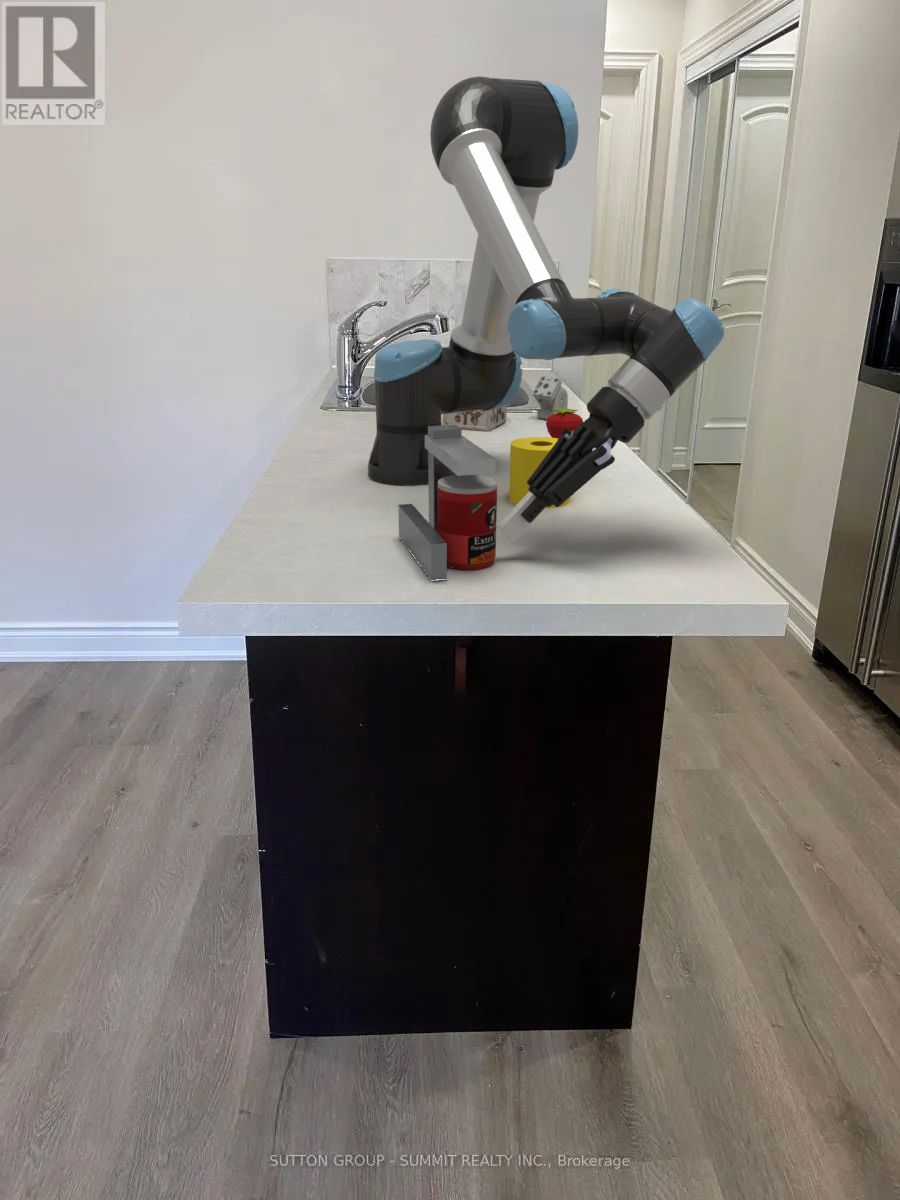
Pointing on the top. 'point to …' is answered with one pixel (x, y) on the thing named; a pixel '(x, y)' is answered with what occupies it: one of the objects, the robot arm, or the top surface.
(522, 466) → the yellow toilet paper roll
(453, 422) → the white patterned box
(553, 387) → the mechanical component
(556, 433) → the strawberry
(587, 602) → the top surface
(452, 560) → the canned food
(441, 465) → the bracket
